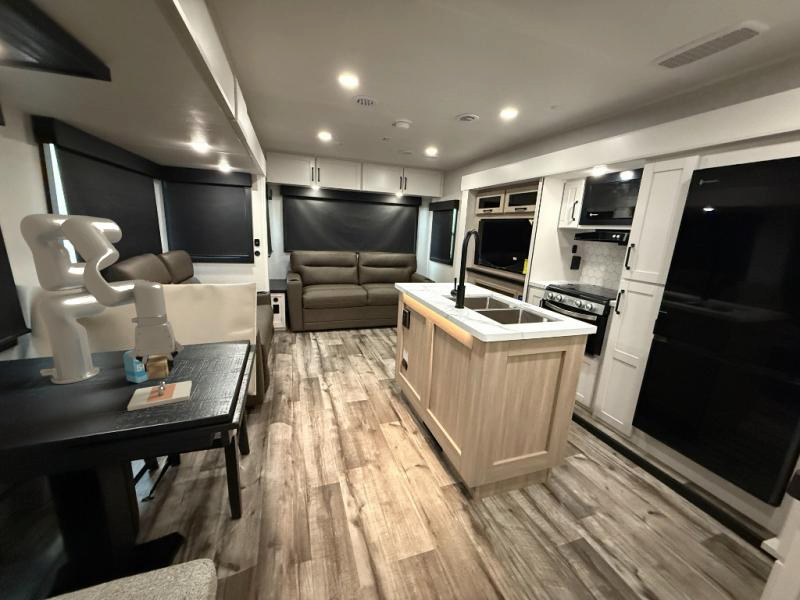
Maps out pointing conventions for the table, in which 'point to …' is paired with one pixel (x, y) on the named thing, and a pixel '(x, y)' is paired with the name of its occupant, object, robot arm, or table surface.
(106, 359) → the table surface
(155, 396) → the plate
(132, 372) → the data package
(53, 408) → the table surface
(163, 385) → the pins
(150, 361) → the tan cardboard box
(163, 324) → the robot arm
